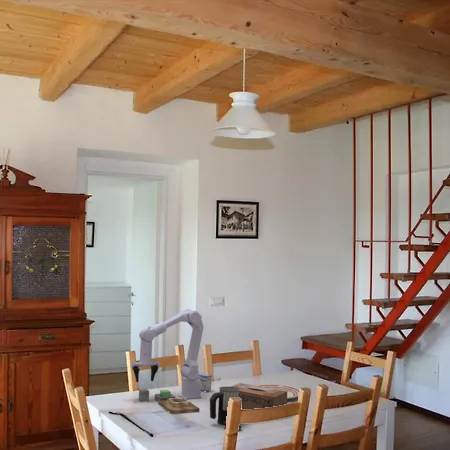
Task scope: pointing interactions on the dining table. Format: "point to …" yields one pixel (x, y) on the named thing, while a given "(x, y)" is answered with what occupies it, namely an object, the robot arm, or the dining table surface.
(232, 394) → the milk frother
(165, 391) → the button
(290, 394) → the dinner plate
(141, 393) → the block
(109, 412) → the dining table surface
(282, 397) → the tissue box cover
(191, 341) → the robot arm
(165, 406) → the brown wooden base
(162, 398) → the button housing
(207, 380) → the medicine box
